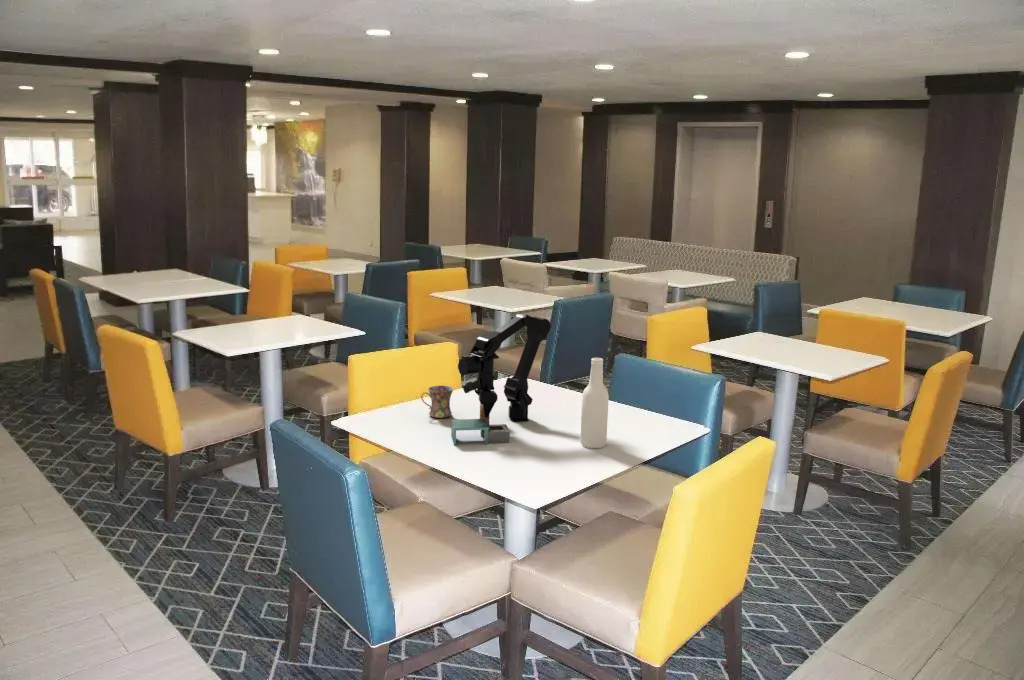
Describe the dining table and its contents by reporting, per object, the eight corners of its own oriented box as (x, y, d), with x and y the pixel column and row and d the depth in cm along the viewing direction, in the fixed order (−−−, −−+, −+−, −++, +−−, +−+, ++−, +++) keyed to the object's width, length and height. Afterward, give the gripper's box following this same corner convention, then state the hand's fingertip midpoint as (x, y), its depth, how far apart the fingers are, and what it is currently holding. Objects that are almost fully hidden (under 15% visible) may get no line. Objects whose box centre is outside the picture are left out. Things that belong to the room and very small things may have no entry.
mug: (450, 412, 316) (451, 385, 314) (454, 419, 308) (455, 391, 305) (419, 413, 314) (419, 386, 311) (422, 420, 305) (422, 392, 303)
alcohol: (609, 448, 279) (613, 361, 273) (583, 449, 277) (587, 361, 271) (602, 440, 287) (606, 355, 281) (577, 441, 286) (581, 355, 280)
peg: (488, 424, 302) (489, 403, 300) (489, 427, 298) (490, 406, 297) (478, 425, 301) (479, 403, 300) (480, 427, 298) (480, 406, 296)
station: (505, 434, 291) (505, 418, 289) (510, 443, 281) (510, 426, 280) (451, 436, 287) (451, 419, 286) (454, 445, 278) (454, 428, 277)
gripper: (460, 366, 303) (459, 407, 306) (466, 378, 285) (465, 422, 288) (490, 365, 305) (489, 406, 308) (498, 377, 287) (497, 421, 290)
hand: (484, 413), depth 299 cm, fingers open, 8 cm apart
